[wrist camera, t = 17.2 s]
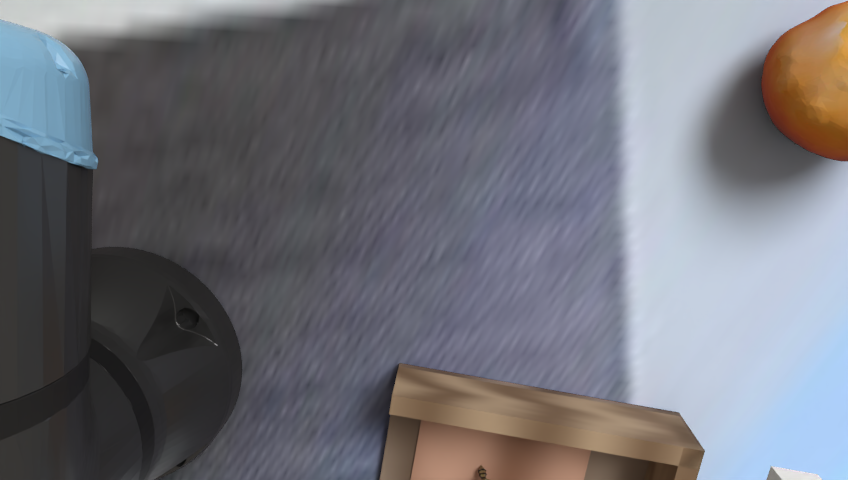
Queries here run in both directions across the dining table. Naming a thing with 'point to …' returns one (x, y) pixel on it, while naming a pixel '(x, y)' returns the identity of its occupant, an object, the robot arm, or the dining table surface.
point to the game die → (482, 473)
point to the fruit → (811, 83)
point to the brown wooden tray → (527, 433)
